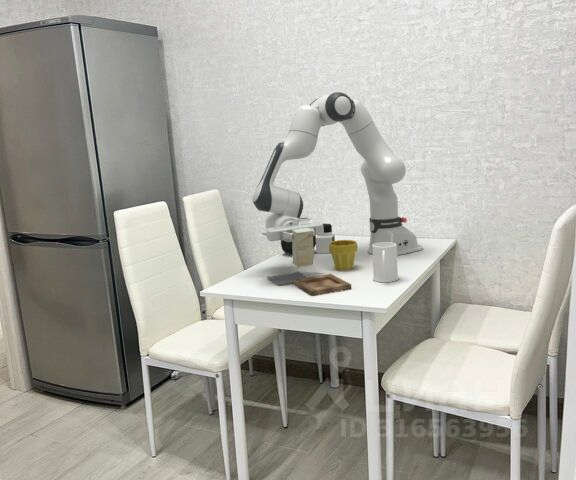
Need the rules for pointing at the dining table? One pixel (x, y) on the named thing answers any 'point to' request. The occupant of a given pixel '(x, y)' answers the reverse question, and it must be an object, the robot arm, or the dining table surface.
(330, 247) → the plant pot
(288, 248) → the squash
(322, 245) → the medicine bottle
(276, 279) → the mat
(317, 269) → the dining table surface
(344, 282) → the walnut tray
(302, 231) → the skincare box
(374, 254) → the mug
